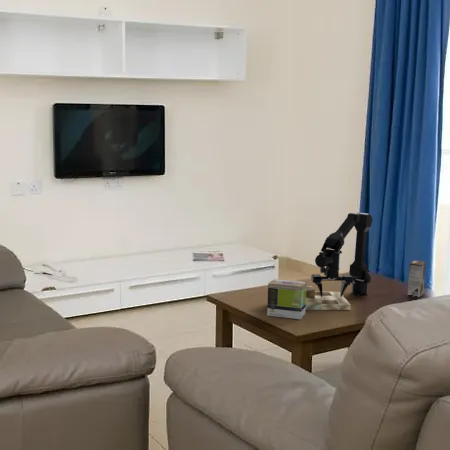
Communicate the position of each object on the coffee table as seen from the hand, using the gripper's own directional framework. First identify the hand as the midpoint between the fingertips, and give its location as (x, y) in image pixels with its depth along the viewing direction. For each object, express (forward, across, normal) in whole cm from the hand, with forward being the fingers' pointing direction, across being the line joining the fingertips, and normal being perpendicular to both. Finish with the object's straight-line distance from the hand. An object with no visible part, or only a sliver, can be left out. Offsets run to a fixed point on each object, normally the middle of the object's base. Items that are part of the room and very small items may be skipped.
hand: (331, 296), depth 340 cm
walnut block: (0, +11, 0) cm, 11 cm away
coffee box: (+4, -46, -17) cm, 49 cm away
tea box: (+3, +24, +20) cm, 31 cm away
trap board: (+3, +4, 0) cm, 5 cm away
